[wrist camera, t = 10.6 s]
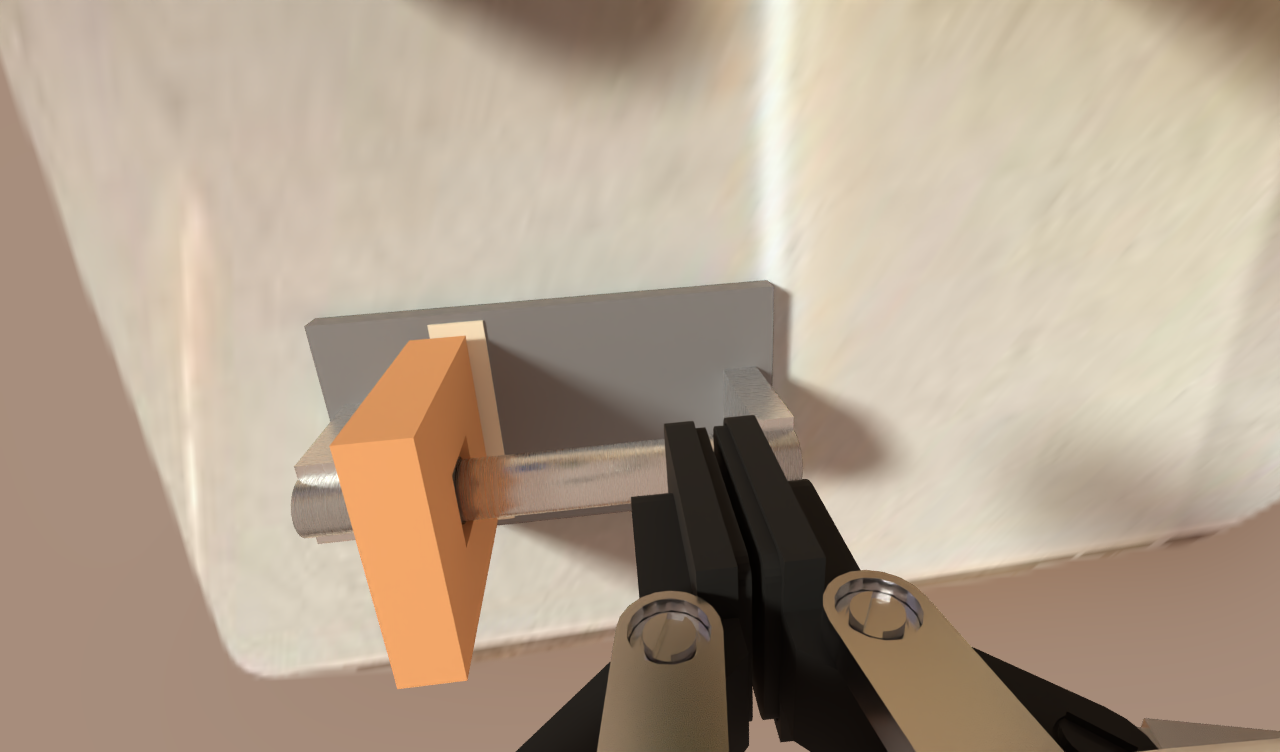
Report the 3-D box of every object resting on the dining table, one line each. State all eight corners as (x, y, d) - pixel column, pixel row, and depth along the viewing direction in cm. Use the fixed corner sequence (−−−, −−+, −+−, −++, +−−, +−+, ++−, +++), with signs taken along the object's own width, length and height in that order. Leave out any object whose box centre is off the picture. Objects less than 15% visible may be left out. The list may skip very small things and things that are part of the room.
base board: (766, 280, 37) (774, 287, 36) (763, 483, 43) (770, 496, 41) (314, 318, 36) (303, 327, 34) (370, 525, 41) (362, 541, 39)
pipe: (755, 366, 38) (805, 431, 30) (755, 431, 39) (801, 510, 31) (344, 405, 36) (278, 485, 28) (361, 471, 38) (304, 565, 30)
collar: (465, 335, 34) (413, 437, 23) (497, 520, 39) (467, 680, 28) (409, 340, 34) (329, 446, 23) (448, 525, 38) (397, 689, 27)
